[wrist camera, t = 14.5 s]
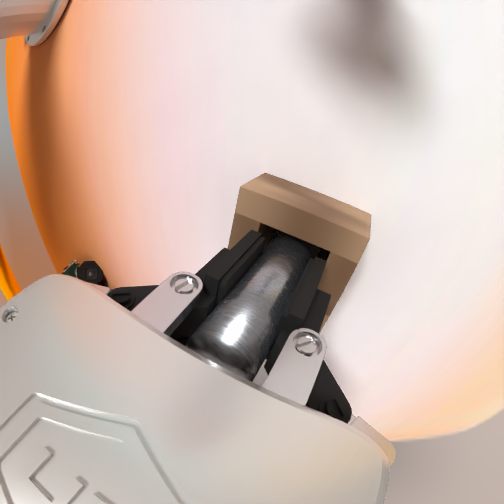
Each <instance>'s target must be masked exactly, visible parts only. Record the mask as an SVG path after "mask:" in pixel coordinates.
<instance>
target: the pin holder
mask: <svg viewBox="0 0 504 504" xmlns="http://www.w3.org/2000/svg"><path fill="white" fill-rule="evenodd" d="M274 228H275V229H278V230H280V231H283V232H285V233H287V234H290V235H292V236H295V237H297V238H299V239H302V240H304V241H306V242H309V243H311V244H314V245H316V246H318V247H321V248H323V249H325V250H328V251H329V253H328V255H327V258H326V260H325V261H327V263H326V266H325V268H324V271H323V274H322V276H321V279H320V282H319V284H318V287H317V289H319V290H322V291H324V292H326V293H328V294H331V298H330V301H329V304H328V308H327V311H326V314H325V317H324V320H323V323H322V326H321V329H322V327H323V326H324V324H325V322H326V321H327V319H328V317H329V316H330V314H331V312H332V310H333V309H334V307H335V305H336V303H337V301H338V300H339V298H340V296H341V294H342V292H343V291H344V289H345V287H346V285H347V283H348V281H349V279H350V277H351V276H352V274H353V272H354V270H355V268H356V266H357V264H358V262H359V260H360V258H361V256H362V254H363V252H364V250H365V248H366V246H367V244H368V242H369V239H370V228H371V214H369V213H366V212H364V211H362V210H359V209H357V208H355V207H353V206H350V205H348V204H345V203H343V202H341V201H338V200H336V199H333V198H331V197H328V196H326V195H323V194H321V193H318V192H316V191H313V190H311V189H308V188H306V187H303V186H300V185H298V184H295V183H292V182H289V181H287V180H284V179H281V178H278V177H276V176H273V175H270V174H267V173H264V174H262V175H260V176H258V177H257V178H255V179H253V180H251V181H249V182H248V183H246V184H244V185H242V186H241V187H240V190H239V195H238V200H237V205H236V210H235V215H234V220H233V225H232V230H231V235H230V240H229V245H228V249H229V250H230V249H231V248H232V247H233V246H235V245H236V244H237V243H238V242H239V241H240V240H241V239H242V238H243V237H244V236H245V235H246V234H247V233H248V232H249V231H250V230H254V231H257V232H259V233H262V234H263V238H265V239H266V242H265V245H264V249H263V251H264V250H265V249H266V248H267V246H268V245H269V244H270V240H271V237H272V233H273V230H274ZM321 329H320V331H321Z"/></svg>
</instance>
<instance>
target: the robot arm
mask: <svg viewBox="0 0 504 504" xmlns="http://www.w3.org/2000/svg"><path fill="white" fill-rule="evenodd" d="M68 1H69V0H0V39H3V38H9V37H16V36H23V35H25V40H26V42H27V44H28V45H30V46H34V45H39V44H41V43H42V42H43V41H45V40H46V39H47V37H48V36H49V35H50V34H51V32H52V31H53V29H54V28H55V26H56V24H57V23H58V21H59V19H60V18H61V16H62V14H63V12H64V10H65V8H66V6H67V3H68ZM265 242H266V239H265V238H263V234H262V233H259V232H257V231H254V230H250V231H249V232H248V233H247V234H246V235H245V236H244V237H243V238H242V239H241V240H240V241H239V242H238V243H237V244H236V245H235V246H233V247H232V248H231V249H230V250H229V249H227V248H224V249H222V250H221V251H220V252H219V253H218V254H217V255H216V256H215V257H213V258H212V259H211V260H210V261H209V262H208V263H207V264H206V265H205V266H204V267H203V268H201V269H200V270H199V271H198V272H197V273H196V274H192V273H189V272H177V273H174V274H172V275H171V276H169V277H168V278H167V279H166V280H165V281H164V282H162V283H161V284H160V285H152V286H136V287H120V288H116V289H113V290H111V291H110V289H109V288H108V287H104V286H100V285H96V284H92V283H88V282H84V281H82V280H80V279H77V278H75V277H72V276H68V275H64V274H51V275H48V276H45V277H43V278H41V279H39V280H37V281H36V282H34V283H32V284H31V285H29V286H28V287H26V288H25V289H24V290H22V291H21V292H19V293H18V294H17V295H15V296H14V297H13V298H11V299H10V300H9V301H8V302H7V303H5V304H4V305H3V306H2V307H0V504H384V501H385V496H386V492H387V487H388V481H389V468H390V467H391V465H392V464H393V462H394V460H395V458H396V450H395V447H394V446H393V444H392V443H391V442H390V441H388V440H387V439H386V438H385V437H384V436H382V435H381V434H380V433H379V432H377V431H376V430H375V429H374V428H373V427H371V426H370V425H369V424H368V423H367V422H365V421H364V420H363V419H362V418H361V417H359V416H358V417H357V418H356V417H355V416H354V415H353V414H352V411H351V407H350V404H349V402H348V401H347V399H346V397H345V396H344V394H343V392H342V390H341V389H340V387H339V385H338V384H337V382H336V380H335V379H334V377H333V375H332V374H331V372H330V370H329V369H328V367H327V365H326V363H325V362H324V360H323V358H324V355H325V352H326V344H325V341H324V339H323V338H322V337H321V336H320V335H319V332H320V329H321V326H322V323H323V320H324V317H325V314H326V311H327V308H328V304H329V301H330V298H331V294H328V293H326V292H324V291H322V290H319V289H317V287H318V284H319V282H320V279H321V276H322V274H323V271H324V268H325V266H326V263H327V261H325V260H323V259H321V258H318V257H316V258H315V259H312V258H310V260H309V262H308V264H307V266H306V268H305V270H304V272H303V274H302V276H301V278H300V280H299V282H298V284H297V286H296V288H295V290H294V292H293V293H292V295H291V297H290V299H289V301H288V303H287V305H286V307H285V309H284V311H283V313H282V316H281V318H280V320H279V322H278V325H277V327H276V333H277V335H276V340H275V342H274V344H273V346H272V348H271V349H270V351H269V353H268V355H267V357H266V359H267V361H266V363H265V365H264V368H265V370H266V372H267V375H268V377H267V379H266V381H265V383H264V384H263V386H262V387H261V386H259V385H257V384H255V383H253V382H251V381H249V380H247V379H245V378H243V377H241V376H239V375H237V374H235V373H233V372H231V371H229V370H227V369H225V368H223V367H222V366H220V365H218V364H216V363H214V362H212V361H210V360H209V359H207V358H205V357H203V356H201V355H200V354H198V353H196V352H194V351H193V350H191V349H189V348H187V341H188V339H189V338H190V337H191V335H192V334H193V333H194V332H195V331H196V330H197V329H198V327H199V326H200V325H201V324H202V323H203V322H204V320H205V319H206V318H207V317H208V316H209V315H210V313H211V312H212V311H213V310H214V309H215V308H216V306H217V305H218V304H219V303H220V302H222V300H223V299H224V298H225V297H226V296H227V294H228V293H229V292H230V291H231V290H232V289H233V287H234V286H235V285H236V284H237V283H238V281H239V280H240V279H241V278H242V277H243V275H244V274H245V273H246V272H247V271H248V269H249V268H250V267H251V266H252V265H253V264H254V262H255V261H256V260H257V259H258V258H259V256H260V255H261V254H262V252H263V249H264V245H265Z"/></svg>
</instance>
